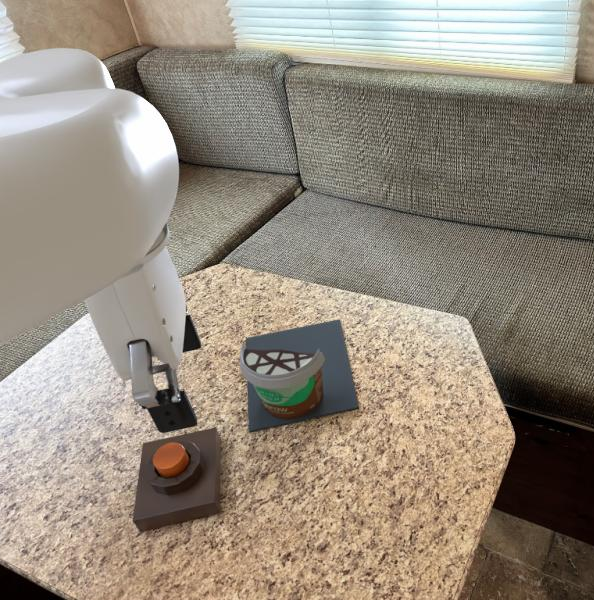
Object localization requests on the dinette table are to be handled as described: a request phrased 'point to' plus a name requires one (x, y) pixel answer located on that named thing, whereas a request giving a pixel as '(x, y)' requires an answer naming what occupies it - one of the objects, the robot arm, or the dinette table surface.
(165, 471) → the button
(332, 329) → the mat
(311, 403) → the food container
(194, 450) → the button box
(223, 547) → the dinette table surface
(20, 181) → the robot arm
